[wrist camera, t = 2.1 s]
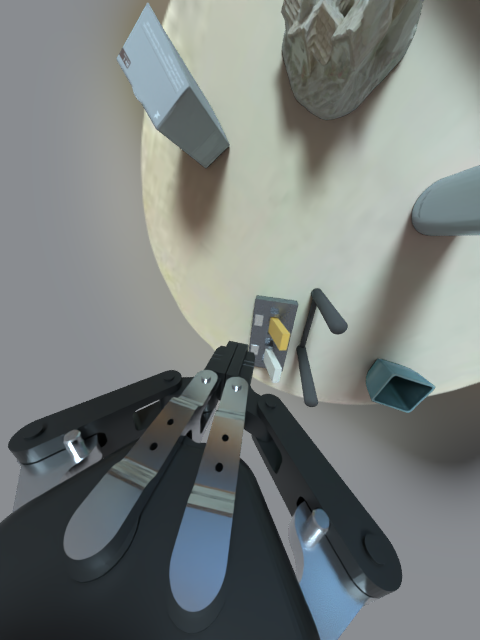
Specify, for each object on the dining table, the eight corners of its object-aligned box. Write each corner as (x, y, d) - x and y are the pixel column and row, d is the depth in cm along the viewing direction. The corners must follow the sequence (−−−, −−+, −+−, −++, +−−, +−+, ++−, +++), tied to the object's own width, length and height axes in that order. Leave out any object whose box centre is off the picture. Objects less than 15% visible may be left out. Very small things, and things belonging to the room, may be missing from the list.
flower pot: (356, 375, 50) (370, 401, 42) (373, 349, 46) (393, 373, 38) (388, 385, 49) (409, 413, 41) (409, 360, 45) (437, 387, 37)
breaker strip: (297, 300, 44) (298, 307, 40) (282, 364, 53) (282, 376, 49) (257, 295, 46) (254, 301, 41) (248, 358, 54) (246, 369, 50)
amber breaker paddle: (277, 316, 43) (290, 333, 36) (274, 331, 45) (286, 350, 38) (270, 316, 43) (282, 333, 36) (268, 331, 45) (279, 350, 38)
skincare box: (231, 146, 35) (197, 84, 21) (203, 172, 37) (156, 133, 23) (206, 96, 32) (150, -12, 18) (178, 128, 35) (110, 55, 21)
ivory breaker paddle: (271, 348, 47) (282, 368, 40) (268, 360, 49) (278, 382, 42) (265, 348, 47) (275, 369, 40) (263, 360, 49) (272, 382, 41)
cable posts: (323, 289, 42) (349, 321, 26) (304, 353, 50) (316, 408, 34) (312, 287, 42) (332, 318, 26) (295, 351, 50) (303, 405, 34)
